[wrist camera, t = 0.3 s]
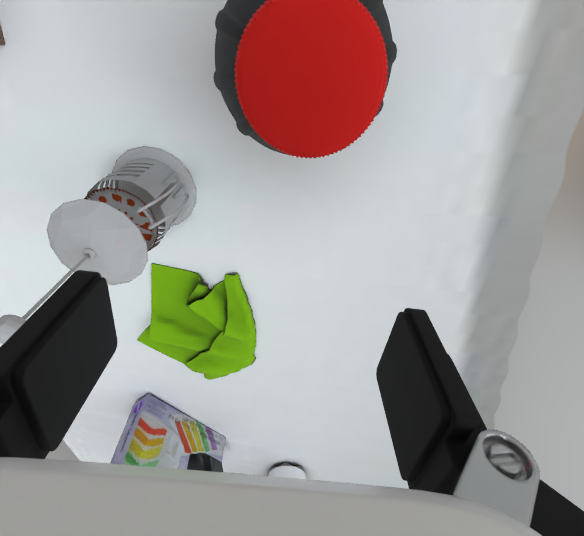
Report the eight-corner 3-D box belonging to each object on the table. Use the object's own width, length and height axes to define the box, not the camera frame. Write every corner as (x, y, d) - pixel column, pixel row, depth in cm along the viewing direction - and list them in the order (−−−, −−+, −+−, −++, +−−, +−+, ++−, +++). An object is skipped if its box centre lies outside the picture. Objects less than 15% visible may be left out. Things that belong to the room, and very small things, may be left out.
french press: (92, 168, 39) (-142, 305, 18) (178, 123, 37) (21, 222, 16) (145, 238, 44) (9, 412, 23) (225, 203, 42) (152, 362, 20)
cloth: (215, 388, 59) (212, 400, 57) (100, 316, 51) (92, 327, 49) (303, 326, 52) (303, 337, 50) (184, 229, 43) (179, 238, 41)
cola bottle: (332, 112, 36) (421, 259, 11) (251, 98, 36) (142, 220, 10) (352, 13, 32) (585, -139, 6) (260, -5, 31) (103, -255, 6)
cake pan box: (232, 439, 67) (214, 550, 52) (214, 448, 69) (192, 559, 54) (151, 389, 60) (102, 503, 45) (133, 401, 61) (81, 514, 46)
